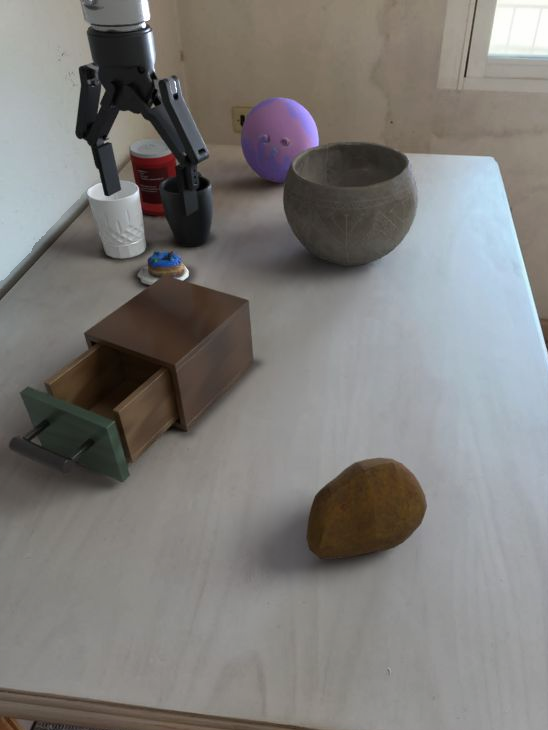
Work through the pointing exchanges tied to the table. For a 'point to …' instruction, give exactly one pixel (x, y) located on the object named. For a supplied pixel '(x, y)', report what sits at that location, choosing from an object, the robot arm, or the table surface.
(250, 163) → the decorative ball
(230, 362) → the cabinet
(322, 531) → the potato
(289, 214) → the bowl
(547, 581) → the table surface
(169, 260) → the dessert
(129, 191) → the white cup
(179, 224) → the mug
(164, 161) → the canned food
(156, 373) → the drawer
